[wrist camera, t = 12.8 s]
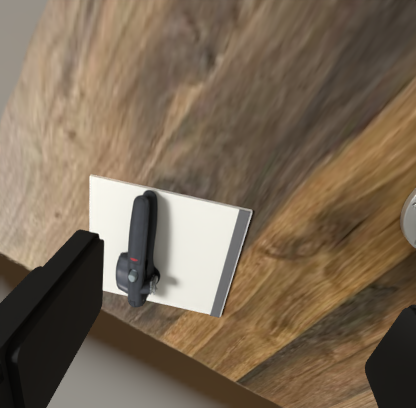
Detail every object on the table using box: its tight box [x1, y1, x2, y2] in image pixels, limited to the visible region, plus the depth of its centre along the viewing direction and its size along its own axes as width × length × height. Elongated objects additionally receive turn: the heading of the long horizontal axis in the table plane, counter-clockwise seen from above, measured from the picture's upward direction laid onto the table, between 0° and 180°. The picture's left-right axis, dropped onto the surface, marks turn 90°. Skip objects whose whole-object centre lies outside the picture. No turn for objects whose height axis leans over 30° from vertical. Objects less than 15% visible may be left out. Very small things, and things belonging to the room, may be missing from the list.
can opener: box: [116, 190, 160, 307], centre depth 40 cm, size 18×7×6 cm, turn 168°
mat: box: [90, 174, 252, 317], centre depth 44 cm, size 22×20×1 cm
